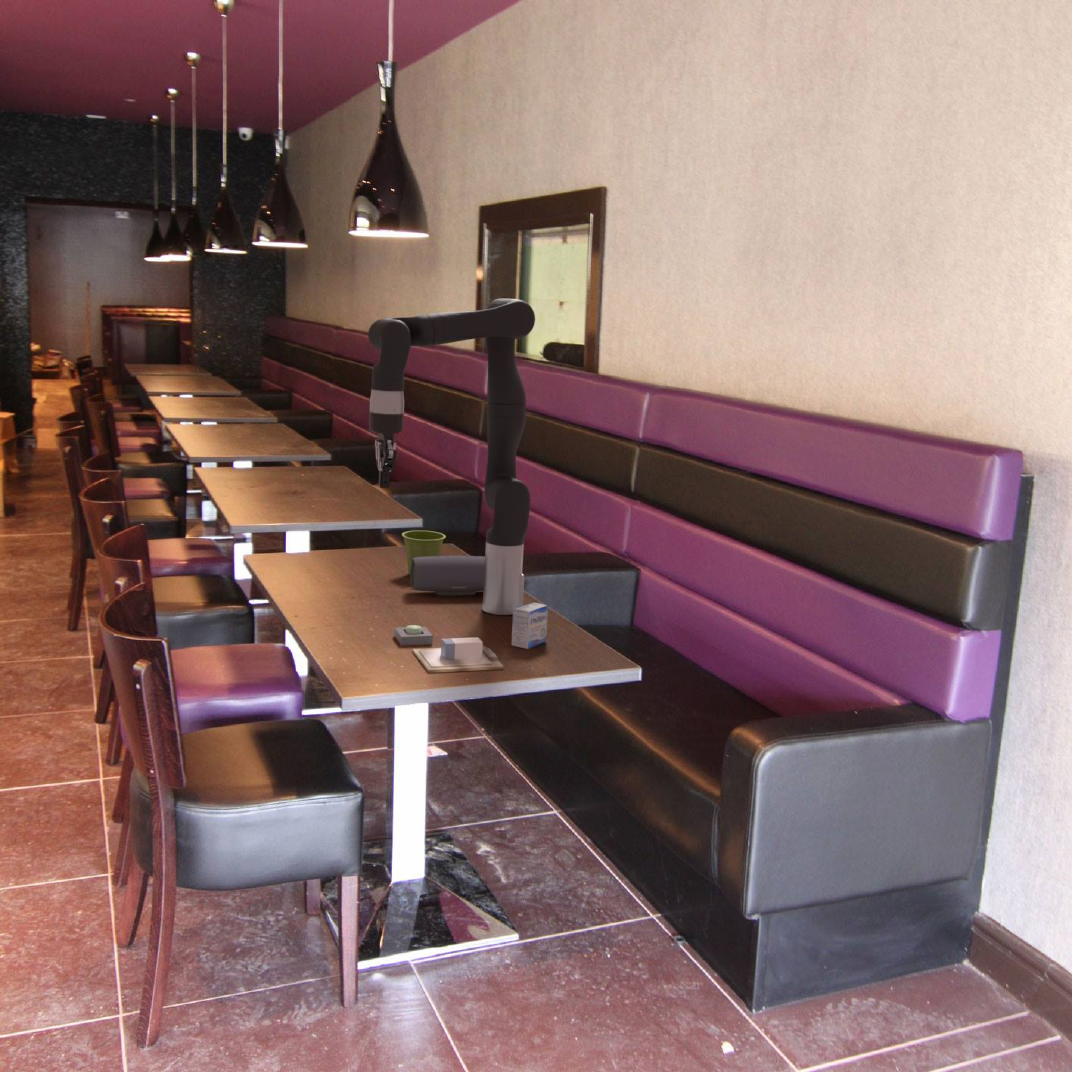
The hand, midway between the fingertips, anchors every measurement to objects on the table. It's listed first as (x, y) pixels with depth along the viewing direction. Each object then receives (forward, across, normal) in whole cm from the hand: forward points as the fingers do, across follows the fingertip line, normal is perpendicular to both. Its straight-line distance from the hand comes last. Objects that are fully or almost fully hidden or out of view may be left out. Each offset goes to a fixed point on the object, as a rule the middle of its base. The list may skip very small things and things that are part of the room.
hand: (384, 487), depth 251 cm
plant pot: (+32, +45, -21) cm, 59 cm away
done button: (+32, -13, -5) cm, 35 cm away
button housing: (+32, -13, -5) cm, 35 cm away
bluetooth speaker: (+32, +25, -25) cm, 48 cm away
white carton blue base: (+31, -28, -12) cm, 44 cm away
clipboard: (+32, -28, -11) cm, 44 cm away
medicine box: (+32, -19, -30) cm, 48 cm away
